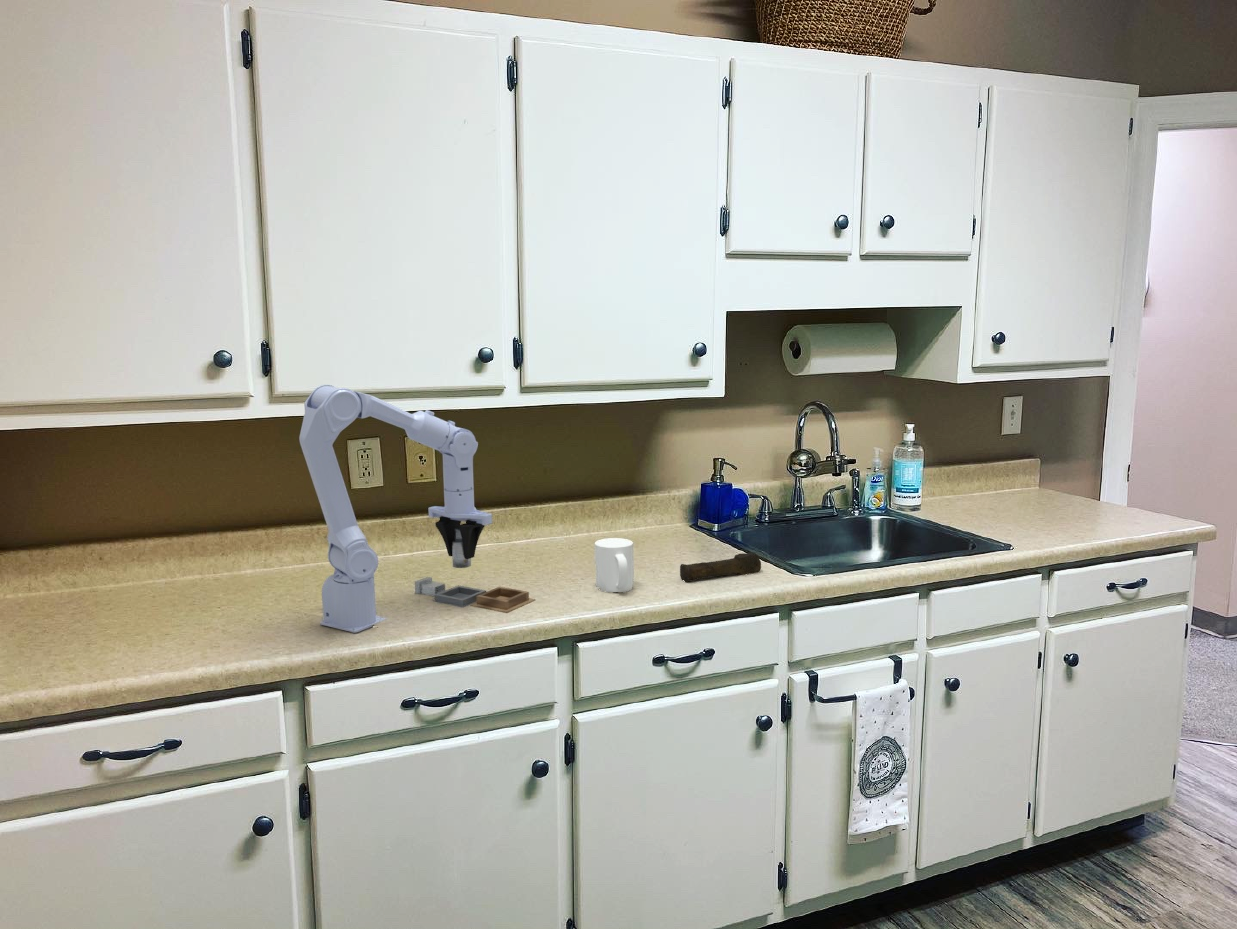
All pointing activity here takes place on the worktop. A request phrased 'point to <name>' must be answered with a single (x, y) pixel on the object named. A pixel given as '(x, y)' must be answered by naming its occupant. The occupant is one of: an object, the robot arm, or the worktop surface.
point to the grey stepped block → (428, 587)
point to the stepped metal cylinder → (459, 551)
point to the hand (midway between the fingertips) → (461, 556)
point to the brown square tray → (503, 599)
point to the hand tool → (721, 567)
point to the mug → (614, 564)
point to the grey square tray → (458, 596)
